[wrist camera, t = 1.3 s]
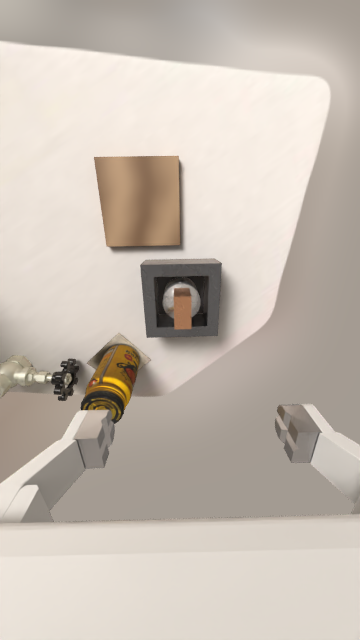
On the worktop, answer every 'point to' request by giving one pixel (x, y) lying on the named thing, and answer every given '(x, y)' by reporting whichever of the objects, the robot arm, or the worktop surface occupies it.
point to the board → (139, 200)
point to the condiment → (113, 377)
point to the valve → (37, 376)
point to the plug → (181, 301)
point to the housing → (181, 267)
